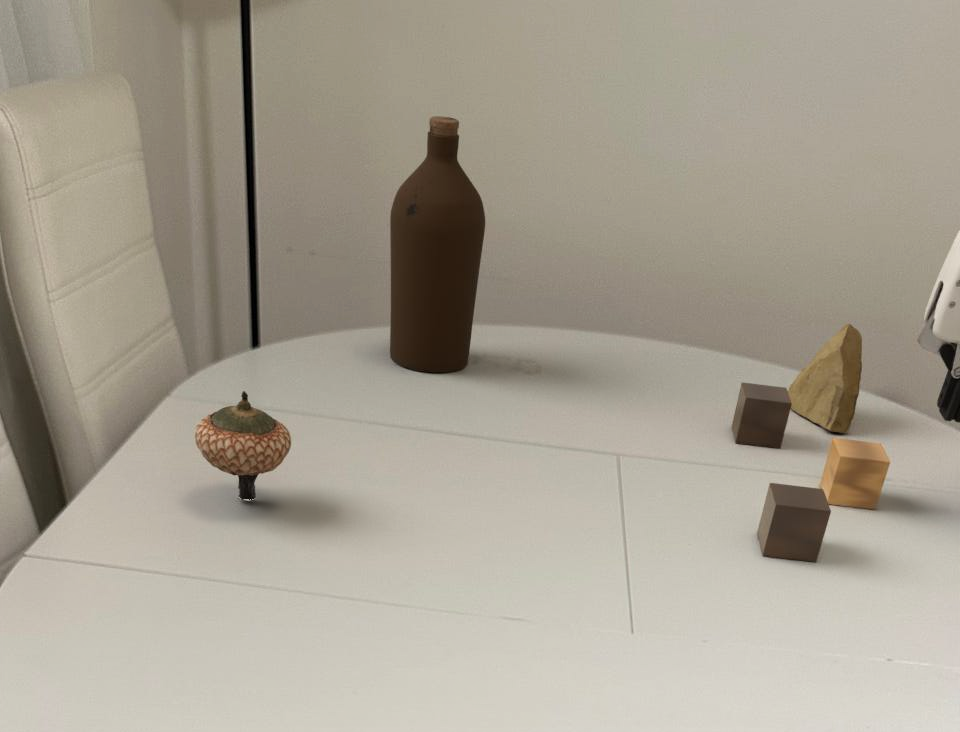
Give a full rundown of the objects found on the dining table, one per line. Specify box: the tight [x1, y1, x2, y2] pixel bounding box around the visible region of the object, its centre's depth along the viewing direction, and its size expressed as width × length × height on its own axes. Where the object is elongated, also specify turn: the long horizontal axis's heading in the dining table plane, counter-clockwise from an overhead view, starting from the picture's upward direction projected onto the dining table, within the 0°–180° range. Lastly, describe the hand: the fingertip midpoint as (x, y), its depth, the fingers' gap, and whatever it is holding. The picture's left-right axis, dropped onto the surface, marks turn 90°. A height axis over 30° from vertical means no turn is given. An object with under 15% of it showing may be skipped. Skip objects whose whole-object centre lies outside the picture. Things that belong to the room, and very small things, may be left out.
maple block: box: [819, 437, 891, 510], centre depth 122 cm, size 5×5×5 cm
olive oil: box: [389, 115, 486, 373], centre depth 136 cm, size 11×11×25 cm
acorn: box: [194, 390, 292, 501], centre depth 106 cm, size 8×8×10 cm
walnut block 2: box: [756, 482, 832, 563], centre depth 111 cm, size 5×5×5 cm
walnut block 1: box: [731, 382, 792, 449], centre depth 133 cm, size 5×5×5 cm
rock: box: [787, 323, 863, 434], centre depth 139 cm, size 11×9×10 cm
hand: (950, 416), depth 117 cm, fingers closed
